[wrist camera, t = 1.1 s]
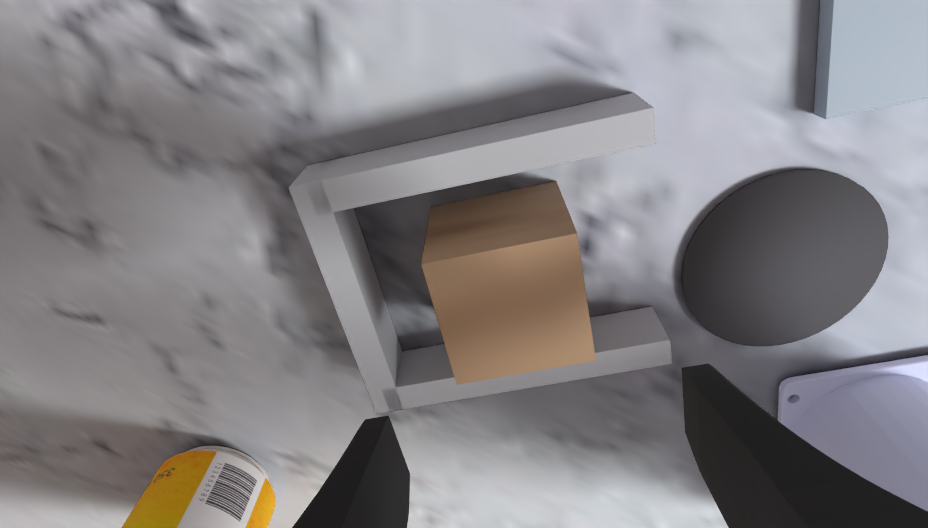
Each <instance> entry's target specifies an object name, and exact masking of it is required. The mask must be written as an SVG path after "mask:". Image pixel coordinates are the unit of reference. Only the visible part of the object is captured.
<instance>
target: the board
mask: <svg viewBox="0 0 928 528" xmlns="http://www.w3.org/2000/svg"><path fill="white" fill-rule="evenodd" d="M925 98H928V0H820V13H819V31H818V48H817V66H816V84H815V102H814V114H815V115H817V116H819V117H822V118H824V119H830V118H835V117H840V116H844V115H849V114H854V113H859V112H863V111H868V110H873V109H878V108H882V107H887V106H892V105H897V104H901V103H906V102H911V101H916V100H920V99H925Z"/></svg>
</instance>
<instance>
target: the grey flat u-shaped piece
mask: <svg viewBox="0 0 928 528" xmlns="http://www.w3.org/2000/svg"><path fill="white" fill-rule="evenodd" d="M653 144H656V134H655V120H654V108H653V107H652V106H651V105H649V104H648V103H647V102H645V101H644V100H643V99H641V98H640V97H639V96H638V95H636V94H635V93H630V94H625V95H621V96H616V97H612V98H607V99H603V100H598V101H594V102H589V103H585V104H580V105H576V106H571V107H567V108H562V109H558V110H553V111H549V112H544V113H540V114H535V115H531V116H527V117H522V118H518V119H513V120H509V121H504V122H500V123H495V124H491V125H486V126H482V127H477V128H473V129H468V130H464V131H459V132H455V133H450V134H446V135H441V136H437V137H433V138H428V139H424V140H419V141H415V142H410V143H406V144H401V145H397V146H392V147H388V148H383V149H379V150H374V151H370V152H365V153H361V154H356V155H352V156H347V157H343V158H338V159H334V160H330V161H325V162H321V163H316V164H312V165H307V166H306V167H305V169H304V170H303V171H302V172H301V173H300V175H299V176H298V177H297V178H296V179H295V181H294V182H293V183H292V184H291V185H290V187H289V191H290V193H291V196H292V198H293V201H294V203H295V206H296V209H297V211H298V214H299V216H300V219H301V221H302V224H303V227H304V229H305V232H306V234H307V237H308V239H309V242H310V245H311V247H312V250H313V252H314V255H315V257H316V260H317V263H318V265H319V268H320V270H321V273H322V275H323V278H324V281H325V283H326V286H327V288H328V291H329V293H330V296H331V299H332V301H333V304H334V306H335V309H336V311H337V314H338V317H339V319H340V322H341V324H342V327H343V329H344V332H345V335H346V337H347V340H348V342H349V345H350V347H351V350H352V353H353V355H354V358H355V360H356V363H357V365H358V368H359V371H360V373H361V376H362V378H363V381H364V383H365V386H366V389H367V391H368V394H369V396H370V399H371V401H372V404H373V407H374V409H375V412H376V414H379V413H385V412H391V411H397V410H402V409H408V408H414V407H420V406H426V405H432V404H438V403H444V402H450V401H456V400H462V399H468V398H474V397H480V396H485V395H491V394H497V393H503V392H509V391H515V390H521V389H527V388H533V387H539V386H545V385H551V384H557V383H563V382H568V381H574V380H580V379H586V378H592V377H598V376H604V375H610V374H616V373H622V372H628V371H634V370H640V369H646V368H651V367H657V366H663V365H669V364H672V356H671V343H670V338H669V337H668V335H667V333H666V331H665V329H664V327H663V325H662V324H661V322H660V320H659V318H658V316H657V314H656V312H655V311H654V309H653V307H652V306H651V307H646V308H640V309H634V310H629V311H623V312H618V313H612V314H607V315H601V316H596V317H590V324H591V330H592V337H593V344H594V351H595V357H596V361H592V362H586V363H580V364H574V365H569V366H563V367H557V368H551V369H545V370H540V371H534V372H528V373H522V374H516V375H511V376H505V377H499V378H493V379H487V380H482V381H476V382H470V383H464V384H458V385H457V384H456V381H455V377H454V374H453V371H452V367H451V364H450V360H449V357H448V354H447V350H446V347H445V344H441V345H435V346H430V347H424V348H419V349H413V350H407V351H402V349H401V346H400V343H399V340H398V338H397V335H396V332H395V329H394V326H393V323H392V320H391V317H390V314H389V311H388V308H387V305H386V302H385V299H384V296H383V293H382V290H381V287H380V284H379V281H378V279H377V276H376V273H375V270H374V267H373V264H372V261H371V258H370V255H369V252H368V249H367V246H366V243H365V240H364V237H363V234H362V231H361V228H360V225H359V223H358V220H357V217H356V214H355V211H354V208H356V207H361V206H366V205H370V204H375V203H380V202H384V201H389V200H394V199H399V198H403V197H408V196H413V195H417V194H422V193H427V192H431V191H436V190H441V189H446V188H450V187H455V186H460V185H464V184H469V183H474V182H479V181H483V180H488V179H493V178H497V177H502V176H507V175H512V174H516V173H521V172H526V171H530V170H535V169H540V168H545V167H549V166H554V165H559V164H563V163H568V162H573V161H577V160H582V159H587V158H592V157H596V156H601V155H606V154H610V153H615V152H620V151H625V150H629V149H634V148H639V147H643V146H648V145H653Z"/></svg>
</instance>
